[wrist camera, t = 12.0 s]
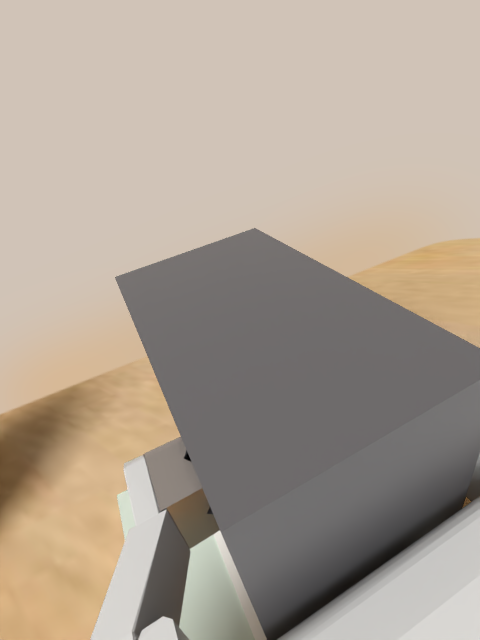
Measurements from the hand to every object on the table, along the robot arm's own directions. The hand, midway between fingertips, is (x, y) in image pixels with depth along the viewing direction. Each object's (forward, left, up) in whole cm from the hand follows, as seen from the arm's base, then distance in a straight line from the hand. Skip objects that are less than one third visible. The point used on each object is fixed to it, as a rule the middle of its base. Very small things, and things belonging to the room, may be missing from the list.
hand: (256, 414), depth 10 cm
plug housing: (0, +1, -6) cm, 6 cm away
